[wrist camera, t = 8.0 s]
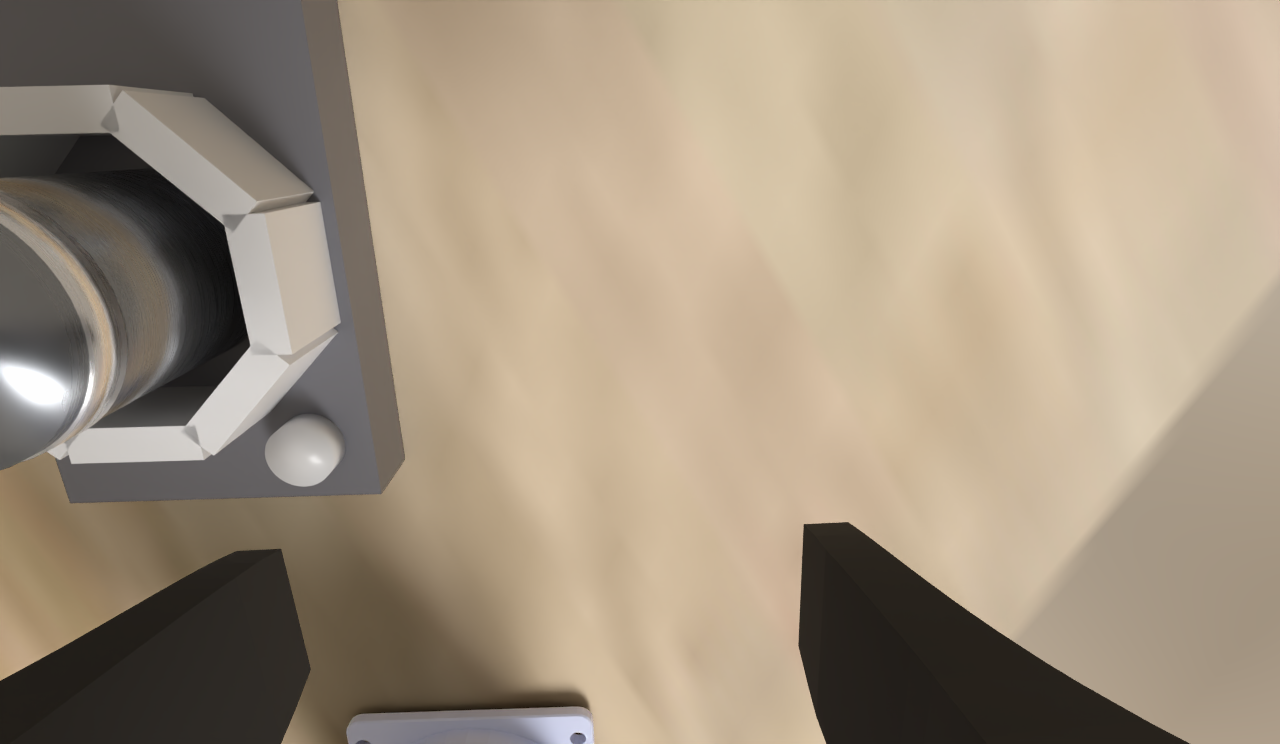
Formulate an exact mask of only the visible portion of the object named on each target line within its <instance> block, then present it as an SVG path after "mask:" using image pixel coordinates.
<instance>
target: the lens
mask: <svg viewBox="0 0 1280 744" xmlns="http://www.w3.org/2000/svg"><path fill="white" fill-rule="evenodd" d="M247 336H248V332H247V327H246V323H245V318H244V314H243V309H242V304H241V300H240V295H239V291H238V286H237V281H236V277H235V272H234V268H233V263H232V258H231V254H230V249H229V245H228V240H227V235H226V231H225V226H224V225H223V224H222V223H221V222H220V221H218V220H217V219H216V218H215V217H213V216H212V215H211V214H210V213H208V212H207V211H206V210H205V209H204V208H202V207H201V206H200V205H199V204H197V203H196V202H195V201H194V200H192V199H191V198H190V197H189V196H187V195H186V194H185V193H184V192H182V191H181V190H180V189H179V188H177V187H176V186H175V185H174V184H173V183H171V182H170V181H169V180H168V179H166V178H165V177H164V176H163V175H161V174H160V173H159V172H158V171H156V170H155V169H151V168H146V169H128V170H113V171H97V172H82V173H66V174H51V175H36V176H20V177H5V178H0V470H2V469H6V468H9V467H11V466H13V465H15V464H17V463H20V462H23V461H26V460H29V459H33V458H35V457H37V456H39V455H41V454H43V453H45V452H47V451H49V450H51V449H52V448H54V447H56V446H58V445H60V444H62V443H64V442H65V441H67V440H69V439H71V438H73V437H75V436H76V435H78V434H80V433H82V432H84V431H85V430H87V429H88V428H90V427H91V426H92V425H94V424H95V423H97V422H98V421H99V420H100V419H101V418H103V417H105V416H107V415H109V414H111V413H113V412H114V411H116V410H118V409H120V408H122V407H124V406H126V405H127V404H129V403H131V402H133V401H135V400H137V399H139V398H140V397H142V396H144V395H146V394H148V393H150V392H152V391H153V390H155V389H157V388H159V387H161V386H163V385H165V384H166V383H168V382H170V381H172V380H174V379H176V378H178V377H179V376H181V375H183V374H185V373H187V372H189V371H191V370H192V369H194V368H196V367H198V366H200V365H202V364H204V363H205V362H207V361H209V360H211V359H213V358H215V357H217V356H218V355H220V354H222V353H224V352H226V351H228V350H230V349H231V348H233V347H235V346H236V345H237V344H239V343H240V342H242V341H243V340H244V339H245V338H246V337H247Z"/></svg>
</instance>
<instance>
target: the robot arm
mask: <svg viewBox="0 0 1280 744" xmlns="http://www.w3.org/2000/svg"><path fill="white" fill-rule="evenodd" d="M799 650H800V654H801V658H802V662H803V666H804V670H805V674H806V678H807V683H808V686H809V690H810V694H811V698H812V702H813V705H814V709H815V713H816V717H817V719H818V722H819V725H820V728H821V730H822V733H823V736H824V738H825V741H826V744H1189V743H1188V742H1186V741H1184V740H1182V739H1180V738H1178V737H1176V736H1174V735H1172V734H1170V733H1168V732H1166V731H1165V730H1163V729H1161V728H1159V727H1157V726H1155V725H1153V724H1151V723H1149V722H1148V721H1146V720H1144V719H1142V718H1140V717H1139V716H1137V715H1135V714H1133V713H1131V712H1130V711H1128V710H1126V709H1124V708H1123V707H1121V706H1119V705H1117V704H1116V703H1114V702H1112V701H1110V700H1109V699H1107V698H1105V697H1103V696H1101V695H1100V694H1098V693H1096V692H1094V691H1093V690H1091V689H1089V688H1087V687H1085V686H1083V685H1082V684H1080V683H1079V682H1077V681H1075V680H1073V679H1072V678H1070V677H1068V676H1067V675H1065V674H1064V673H1062V672H1060V671H1059V670H1057V669H1055V668H1054V667H1052V666H1050V665H1049V664H1047V663H1045V662H1044V661H1043V660H1041V659H1039V658H1038V657H1036V656H1035V655H1033V654H1032V653H1030V652H1029V651H1027V650H1026V649H1024V648H1022V647H1021V646H1019V645H1018V644H1016V643H1015V642H1013V641H1012V640H1010V639H1009V638H1007V637H1006V636H1004V635H1003V634H1001V633H999V632H998V631H996V630H995V629H993V628H992V627H991V626H989V625H988V624H986V623H985V622H983V621H982V620H980V619H979V618H978V617H976V616H975V615H973V614H972V613H970V612H969V611H967V610H966V609H965V608H963V607H962V606H960V605H959V604H958V603H956V602H955V601H953V600H952V599H951V598H949V597H948V596H947V595H945V594H944V593H942V592H941V591H940V590H938V589H937V588H936V587H934V586H933V585H931V584H930V583H929V582H927V581H926V580H925V579H923V578H922V577H921V576H919V575H918V574H917V573H915V572H914V571H913V570H911V569H910V568H909V567H907V566H906V565H905V564H904V563H902V562H901V561H900V560H898V559H897V558H896V557H894V556H893V555H892V554H890V553H889V552H888V551H886V550H885V549H884V548H883V547H881V546H880V545H879V544H877V543H876V542H875V541H873V540H872V539H871V538H869V537H868V536H867V535H865V534H864V533H863V532H861V531H860V530H858V529H857V528H856V527H854V526H853V525H851V524H850V523H848V522H843V523H822V524H804V532H803V555H802V578H801V600H800V623H799ZM310 670H311V669H310V664H309V660H308V656H307V652H306V648H305V644H304V640H303V636H302V632H301V628H300V624H299V620H298V616H297V612H296V608H295V604H294V599H293V595H292V591H291V587H290V583H289V579H288V575H287V571H286V567H285V563H284V559H283V555H282V551H281V549H270V550H249V551H236V552H234V553H232V554H229V555H227V556H225V557H223V558H221V559H218V560H216V561H214V562H212V563H211V564H209V565H207V566H205V567H203V568H201V569H199V570H197V571H195V572H194V573H192V574H190V575H188V576H186V577H184V578H183V579H181V580H179V581H177V582H175V583H174V584H172V585H170V586H168V587H167V588H165V589H163V590H161V591H160V592H158V593H156V594H154V595H153V596H151V597H149V598H147V599H146V600H144V601H142V602H140V603H139V604H137V605H135V606H133V607H132V608H130V609H128V610H126V611H125V612H123V613H121V614H120V615H118V616H116V617H114V618H113V619H111V620H109V621H107V622H106V623H104V624H102V625H100V626H99V627H97V628H95V629H93V630H92V631H90V632H88V633H86V634H85V635H83V636H81V637H79V638H78V639H76V640H74V641H72V642H71V643H69V644H67V645H65V646H64V647H62V648H60V649H58V650H57V651H55V652H53V653H51V654H49V655H47V656H45V657H44V658H42V659H40V660H38V661H36V662H34V663H33V664H31V665H29V666H27V667H25V668H23V669H22V670H20V671H18V672H16V673H14V674H12V675H10V676H9V677H7V678H5V679H3V680H1V681H0V744H281V742H282V740H283V738H284V735H285V733H286V730H287V728H288V726H289V723H290V721H291V719H292V716H293V714H294V711H295V709H296V706H297V704H298V701H299V699H300V696H301V693H302V691H303V688H304V685H305V683H306V680H307V678H308V675H309V672H310ZM577 732H578V733H582V734H581V735H576V734H574V733H577ZM346 735H347V739H348V744H594V726H593V716H592V713H591V712H590V711H589V710H588V709H586V708H584V707H578V706H576V707H547V708H518V709H489V710H459V711H430V712H401V713H372V714H359V715H356V716H355V717H353V718H352V719H351V721H350V723H349V725H348V727H347V730H346ZM363 740H366V741H368V742H365V741H363Z"/></svg>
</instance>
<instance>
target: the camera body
mask: <svg viewBox="0 0 1280 744" xmlns="http://www.w3.org/2000/svg"><path fill="white" fill-rule="evenodd" d="M146 168H151V169H155V170H156V171H158V172H159V173H160V174H161V175H163V176H164V177H165V178H166V179H168V180H169V181H170V182H171V183H173V184H174V185H175V186H176V187H177V188H179V189H180V190H181V191H182V192H184V193H185V194H186V195H187V196H189V197H190V198H191V199H192V200H194V201H195V202H196V203H197V204H199V205H200V206H201V207H202V208H204V209H205V210H206V211H207V212H208V213H210V214H211V215H212V216H213V217H215V218H216V219H217V220H218V221H220V222H221V223H222V224H223V225H224V226H225V231H226V235H227V240H228V245H229V249H230V254H231V258H232V263H233V268H234V272H235V277H236V281H237V286H238V291H239V295H240V300H241V304H242V309H243V314H244V318H245V323H246V327H247V332H248V336H247V337H246V338H245V339H244V340H243V341H242V342H240V343H239V344H237V345H236V346H235V347H233V348H231V349H230V350H228V351H226V352H224V353H222V354H220V355H218V356H217V357H215V358H213V359H211V360H209V361H207V362H205V363H204V364H202V365H200V366H198V367H196V368H194V369H192V370H191V371H189V372H187V373H185V374H183V375H181V376H179V377H178V378H176V379H174V380H172V381H170V382H168V383H166V384H165V385H163V386H161V387H159V388H157V389H155V390H153V391H152V392H150V393H148V394H146V395H144V396H142V397H140V398H139V399H137V400H135V401H133V402H131V403H129V404H127V405H126V406H124V407H122V408H120V409H118V410H116V411H114V412H113V413H111V414H109V415H107V416H105V417H103V418H101V419H100V420H99V421H98V422H97V423H95V424H94V425H92V426H91V427H90V428H88V429H87V430H85V431H84V432H82V433H80V434H78V435H76V436H75V437H73V438H71V439H69V440H67V441H65V442H64V443H62V444H60V445H58V446H56V447H54V448H52V449H51V450H49V451H47V452H48V453H49V454H51V455H52V456H54V457H55V459H56V462H57V465H58V468H59V471H60V474H61V477H62V480H63V483H64V486H65V489H66V492H67V495H68V498H69V501H70V503H93V502H126V501H160V500H193V499H227V498H261V497H294V496H328V495H361V494H382V493H383V491H384V490H385V488H386V487H387V485H388V484H389V482H390V481H391V479H392V478H393V476H394V475H395V473H396V472H397V471H398V469H399V468H400V466H401V465H402V463H403V462H404V460H405V456H404V449H403V442H402V436H401V429H400V422H399V415H398V409H397V402H396V395H395V389H394V382H393V375H392V368H391V362H390V355H389V348H388V341H387V335H386V328H385V321H384V314H383V308H382V301H381V294H380V287H379V281H378V274H377V267H376V261H375V254H374V247H373V240H372V234H371V227H370V220H369V213H368V207H367V200H366V193H365V186H364V180H363V173H362V166H361V159H360V153H359V146H358V139H357V132H356V126H355V119H354V112H353V106H352V99H351V92H350V85H349V79H348V72H347V65H346V58H345V52H344V45H343V38H342V31H341V25H340V18H339V11H338V4H337V0H0V178H5V177H20V176H36V175H51V174H66V173H82V172H97V171H113V170H128V169H146Z"/></svg>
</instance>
